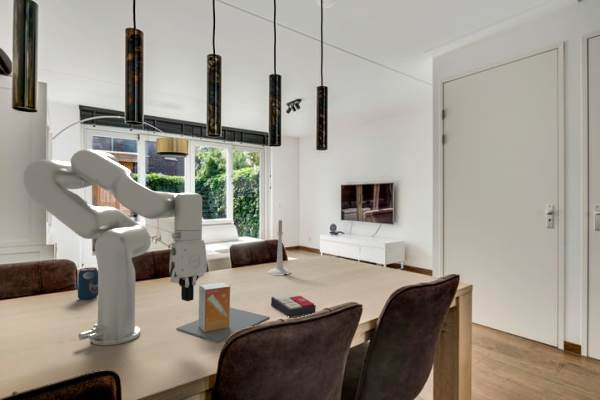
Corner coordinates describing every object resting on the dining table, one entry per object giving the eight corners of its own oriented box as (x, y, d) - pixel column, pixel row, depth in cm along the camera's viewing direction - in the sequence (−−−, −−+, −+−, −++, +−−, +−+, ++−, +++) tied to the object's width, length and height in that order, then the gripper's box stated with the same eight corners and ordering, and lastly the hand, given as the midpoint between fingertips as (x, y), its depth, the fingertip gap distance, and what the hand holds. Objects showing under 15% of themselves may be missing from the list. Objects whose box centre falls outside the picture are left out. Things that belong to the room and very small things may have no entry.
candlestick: (282, 269, 196) (282, 218, 196) (295, 273, 186) (296, 219, 186) (263, 272, 187) (264, 219, 188) (276, 276, 178) (277, 220, 178)
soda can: (94, 300, 132) (94, 270, 132) (74, 301, 130) (75, 270, 130) (100, 295, 138) (101, 266, 138) (82, 296, 137) (82, 267, 137)
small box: (204, 333, 100) (205, 289, 100) (198, 326, 105) (198, 284, 105) (230, 327, 105) (230, 286, 105) (222, 321, 110) (223, 281, 110)
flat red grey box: (289, 308, 116) (271, 295, 129) (289, 320, 116) (270, 306, 129) (316, 303, 121) (295, 291, 134) (315, 315, 122) (295, 302, 134)
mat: (218, 343, 94) (218, 341, 94) (176, 329, 104) (176, 328, 104) (269, 318, 115) (269, 316, 115) (230, 308, 124) (230, 307, 124)
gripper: (174, 239, 88) (174, 309, 87) (216, 234, 100) (216, 295, 100) (156, 237, 91) (156, 304, 91) (199, 233, 104) (198, 292, 104)
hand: (187, 299), depth 96 cm, fingers closed
